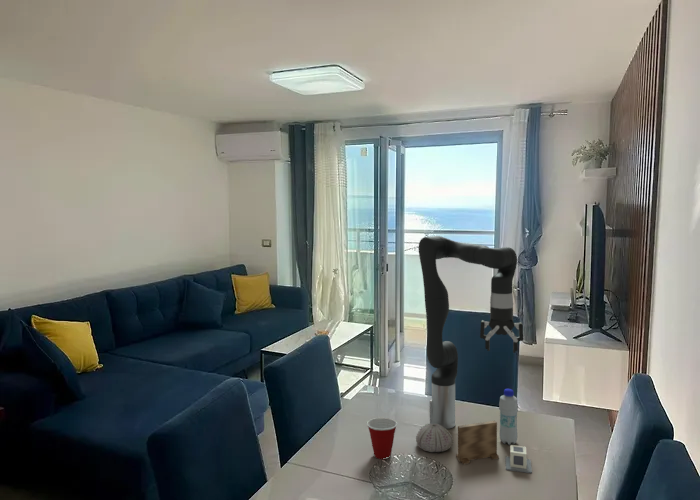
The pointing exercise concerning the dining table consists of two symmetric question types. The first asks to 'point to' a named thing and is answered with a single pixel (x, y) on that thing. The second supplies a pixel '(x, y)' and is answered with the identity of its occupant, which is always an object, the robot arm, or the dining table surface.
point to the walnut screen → (477, 441)
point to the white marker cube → (518, 456)
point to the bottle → (508, 417)
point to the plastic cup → (382, 436)
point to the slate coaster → (527, 470)
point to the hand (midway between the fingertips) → (501, 351)
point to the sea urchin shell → (434, 438)
